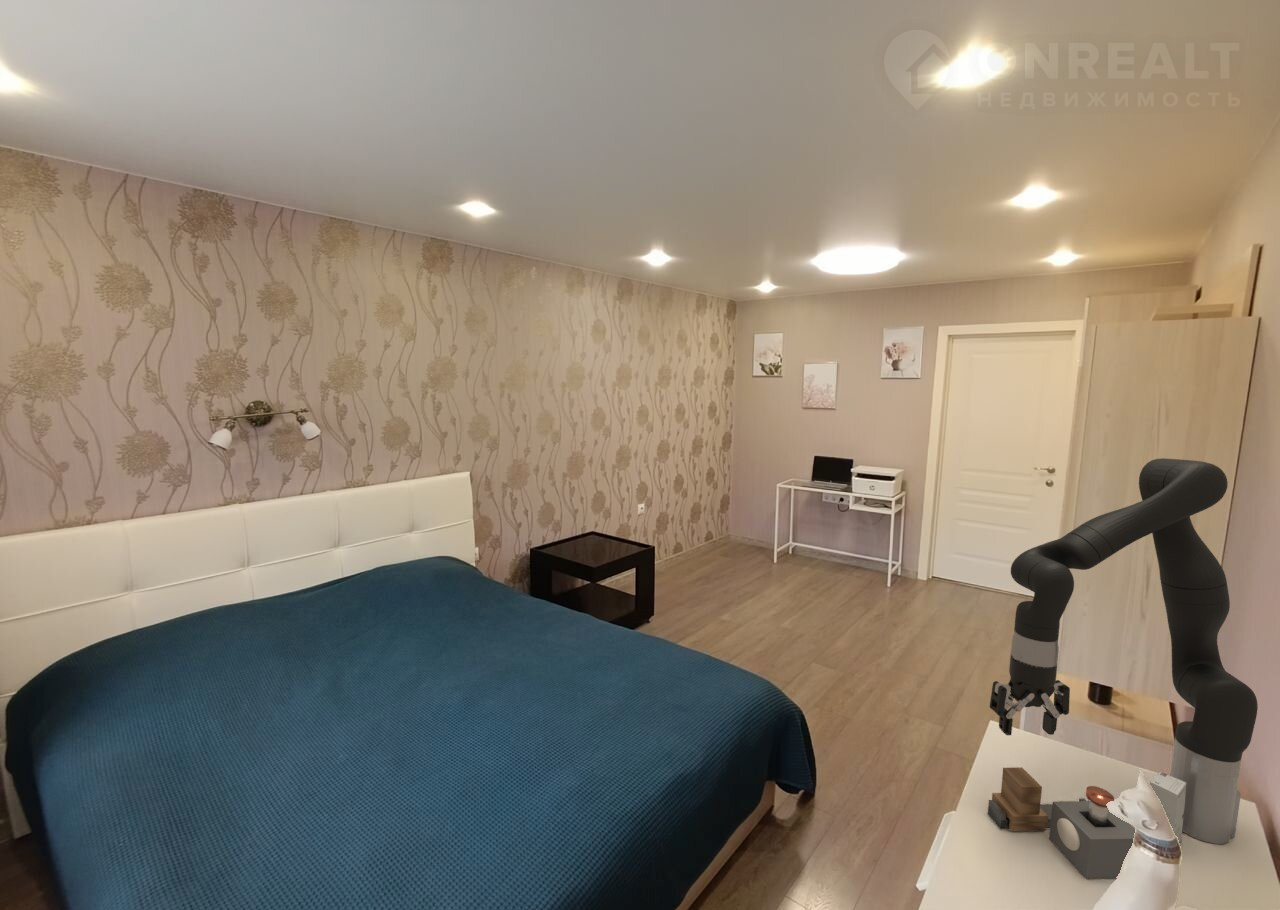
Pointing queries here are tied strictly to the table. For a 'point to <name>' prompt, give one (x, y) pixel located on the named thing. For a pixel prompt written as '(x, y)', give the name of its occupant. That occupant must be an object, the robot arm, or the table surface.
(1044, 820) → the stepped wooden block
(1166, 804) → the skincare box
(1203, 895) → the table surface
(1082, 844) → the cabinet
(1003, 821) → the rail
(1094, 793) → the plunger
